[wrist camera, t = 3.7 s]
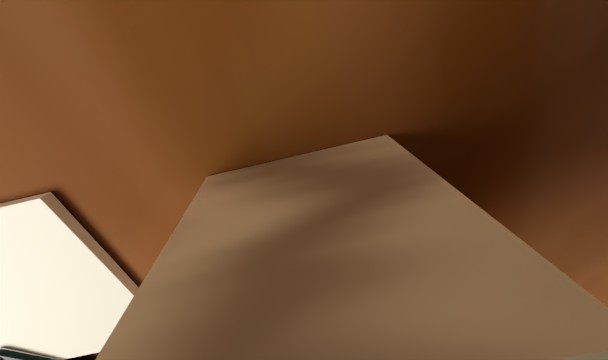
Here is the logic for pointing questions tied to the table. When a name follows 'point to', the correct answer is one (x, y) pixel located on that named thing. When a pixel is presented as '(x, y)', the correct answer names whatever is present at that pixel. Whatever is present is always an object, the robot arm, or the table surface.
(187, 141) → the table surface
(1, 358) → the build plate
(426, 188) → the letter block
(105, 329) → the reading pad
